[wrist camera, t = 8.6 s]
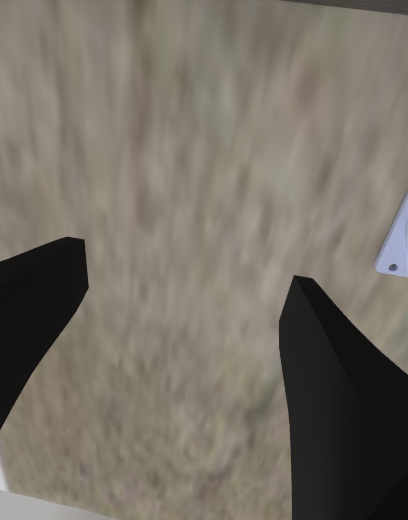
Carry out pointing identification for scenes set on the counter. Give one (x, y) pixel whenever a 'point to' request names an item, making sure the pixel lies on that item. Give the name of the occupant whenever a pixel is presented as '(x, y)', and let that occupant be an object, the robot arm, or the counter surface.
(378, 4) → the grey slotted block
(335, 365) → the robot arm
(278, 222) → the counter surface
